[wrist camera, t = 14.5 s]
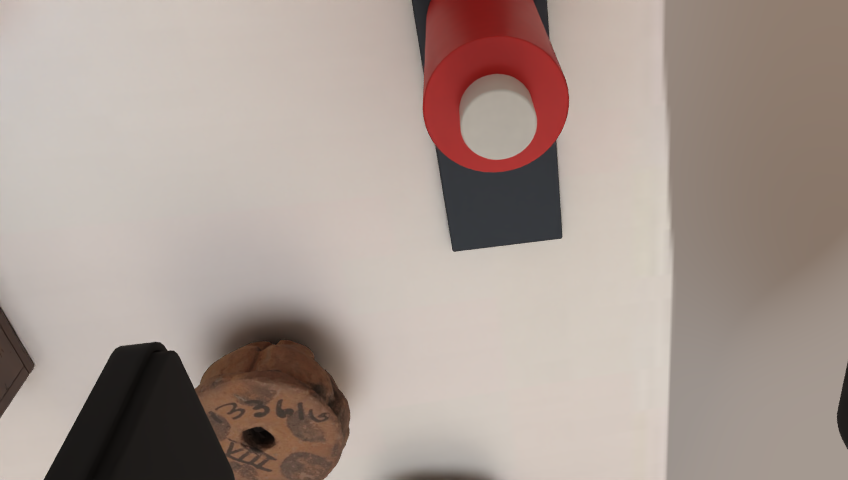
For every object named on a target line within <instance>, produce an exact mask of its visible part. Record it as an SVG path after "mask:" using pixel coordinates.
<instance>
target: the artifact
mask: <svg viewBox="0 0 848 480" xmlns="http://www.w3.org/2000/svg"><path fill="white" fill-rule="evenodd" d="M195 391H196V393H197V395H198V398H199V400H200V402H201V404H202V406H203V408H204V410H205V412H206V415H207V417H208V419H209V421H210V423H211V425H212V427H213V429H214V432H215V434H216V436H217V438H218V440H219V442H220V444H221V446H222V449H223V451H224V453H225V455H226V457H227V459H228V461H229V464H230V466H231V468H232V470H233V473H234V477H235V480H323V479H324V478H326V477H327V475H328V474H329V473H330V472H331V471H332V469H333V468H334V467H335V466H336V465H337V463H338V461H339V459H340V456H341V453H342V450H343V448H344V447H345V445H346V442H347V439H348V436H349V421H350V409H349V405H348V402H347V399H346V398H345V396H344V395H343V393H342V392H341V391H340V390H339V389H338V387H337V385H336V383H335V381H334V380H333V378H332V376H331V375H330V374H329V373H328V372H327V371H326V370H324V369H323V368H322V367H321V366H320V365H319V364H318V363H317V362H316V361H315V360H314V354H313V352H312V351H311V350H310V349H309V348H308V347H306V346H304V345H302V344H299V343H296V342H293V341H291V340H280V341H279V342H278V343H277V344H276V345H274V344H272V343H270V342H268V341H258V342H253V343H250V344H248V345H246V346H243V347H241V348H239V349H237V350H235V351H233V352H231V353H229V354H227V355H225V356H223V357H222V358H221V359H219V360H217V361H216V362H214V363H213V364H212V365H211V366H210V367H209V368H208V369H207V371H206V372H205V373H204V375H203V377H202V379H201V382H200V385H199V386H198V387H197V388H195Z"/></svg>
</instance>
